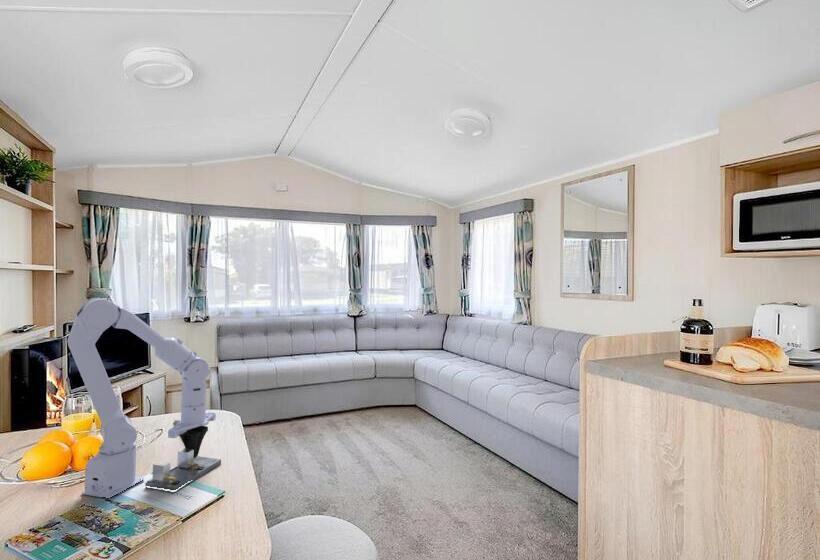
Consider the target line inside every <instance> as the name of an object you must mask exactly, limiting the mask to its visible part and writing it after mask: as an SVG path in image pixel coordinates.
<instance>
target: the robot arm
mask: <svg viewBox="0 0 820 560" xmlns="http://www.w3.org/2000/svg"><path fill="white" fill-rule="evenodd" d="M111 326H112V327H113V328H114V329H121V330H123V329H124V330H128V331H129V332H131V333H132V334H134V335H136V337H138V338H140V339H141V340H142V341H144V342H145V343H147V344H148V345H150V346H151V347H153V348H154V355H155V357H156V358H157V359H159V360H161V361H162V362H164V363H165V364H166V365H168V366H169V367H171V368H172V369H174V370H175V371H177V372H179V373H180V375H181V376H182V379H181V395H180V396H181V397H180V399H181V402H180V403H181V404H180V420H181V421H180V422H179V423H178V424H177V425H176V424H174V426H173V427H171V428H169V429H168V430H167V433H168V434H167V437H168V438H169V439H177V438H178V437H180V440H181V441H182V442H183V443H182V444H183V446H184V448H186V449H193V450H194V458H195V457H197V456H199V453H200V449H201V446H202V443H203V440H204V438H205V436H206V434H207V433H208V431H209V427H208V426H207V425H208V424H209V422H213V421H216V415H217V414H216V412H210V411H209V412H207V409H206V408H207V377H208V376H209V374H210V371H211V369H210V368H209V364H208V363H207V361H206V360H205V359H204V358H201V357H199V355H198V353H197V352H196V351H195V350H193V351H192V350H191V349H189V348H188V347H187V346H185V345H184V344H183V343H184V341H183V340H181V339H180V338H177V339H176V338H175V337H164V336H163V335H161V333H159V332H158V331H156V330H154V329H153V328H152V327H151V326H150V325H148V323H146V322H145V321H143V320H142V319H141V318H140V317H139V316H137V315H136V314H134V313H132V312H131V311H129V310H127V309H124V308H123V307H120V306H119V305H117V304H115V303H114V302H113V301H111V300H108V299H106V298H103V297H93V298H90V299H88V300H87V301H86V302H84V303H83V305H82V306H81V307H80V309H78V311H77V312H76V314H75V319H74V321H73V324H72V326H71V329H70V332H69V334H68V337H67V346H68V348H69V350H70V354H71V355H72V358H73V359H74V362H75V365H76V367H77V369H78V371H79V374H80V377H81V378H82V381H83V383H84V386H85V389H86V390H87V392H88V396H89V398H90V400H91V403H92V405H93V407H94V410H95V412H96V414H97V416H98V419H99V421H100V429H99V433H100V435H101V437H102V440H103V441H102V444H100V446H99V447H98V451H97V453H96V454H95V455H94V456H93V457H91V458H90V459H88V460H87V461H86V464H85V467H84V490H82V491H81V494H82V495H87V496H91V497H97V498H102V497H107V498H109V497H112V496H114V495H116V494H118V493H119V494H121V493H123V492H125V491H127V490H128V489H127V488H129V487H131V486H133V485H134V484H136V483H138V482H139V481H141V479H142V480H143V479H144V478H145V477H141V476H137V475H136V469H137V468H136V467H137V466H136V465H137V462H136V461H137V442H136V441H137V437H138V432H137V429H136V428H135V426H133V423H132V421H131V419H130V417H128V416H127V415H126V414H124V412H123V409H122V407H121V405H120V403H119V400H118V397H117V395H116V392H115V390H114V388H113V386H112V384H111V380H110V378H109V376H108V373H107V371H106V368H105V366H104V363H103V361H102V359H101V356H100V353H99V352H98V349H97V347H96V343H97V342H98V340H99V339H100V337H101V335H102V334H103V333H104V332H105V331H106V330H108V329H109V328H110V327H111ZM206 412H207V413H206ZM138 484H139V483H138ZM136 485H137V484H136ZM134 486H135V485H134ZM134 486H133V487H134ZM131 488H132V487H131ZM126 489H127V490H126ZM129 489H130V488H129ZM124 490H125V491H124ZM122 491H123V492H122ZM120 492H121V493H120ZM119 494H118V495H119ZM116 496H117V495H116ZM114 497H115V496H114ZM107 498H106V499H107ZM112 498H113V497H112ZM109 499H110V498H109Z"/></svg>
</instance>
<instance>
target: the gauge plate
mask: <svg viewBox="0 0 820 560" xmlns="http://www.w3.org/2000/svg"><path fill="white" fill-rule="evenodd" d="M193 463H196V464H200V466H199V467H190V468H188V469H187V468H180V467H177V466H178V463H177V464H176V465H174V466H172V467H171V462H169V461H162V460H159V461H157V462H155V463H153V464H152V478H150V479H147V481H146V482H145V483H144V484H145V485H144V487H145V486H150V487H157V488H164V489H170V490H176V489H178V488H179V487H181V486H182V485H184V484H185V483H187V482H188V481H191V480H193V482H194V481H196V480H197V479H199V478H201V477H202V476H204V475H206V474H207V473H209V472H211V471H213V470H214V469H215V468H217V467H219V466H220V465H221V464H222V459H221V458H220V459H219V458H212V457H207V456H206V457H205V456H199V455H198V456H197V457H195V458H194V461H193Z"/></svg>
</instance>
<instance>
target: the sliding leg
mask: <svg viewBox="0 0 820 560" xmlns="http://www.w3.org/2000/svg"><path fill="white" fill-rule="evenodd" d="M193 461H194V450H193V449H186V448H185V447H184V448H182V449H179V450H178V451H177V464H178V466H177V467H180V468H187V469H188V468H190V467H199V466H200V464H196V463H193Z"/></svg>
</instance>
